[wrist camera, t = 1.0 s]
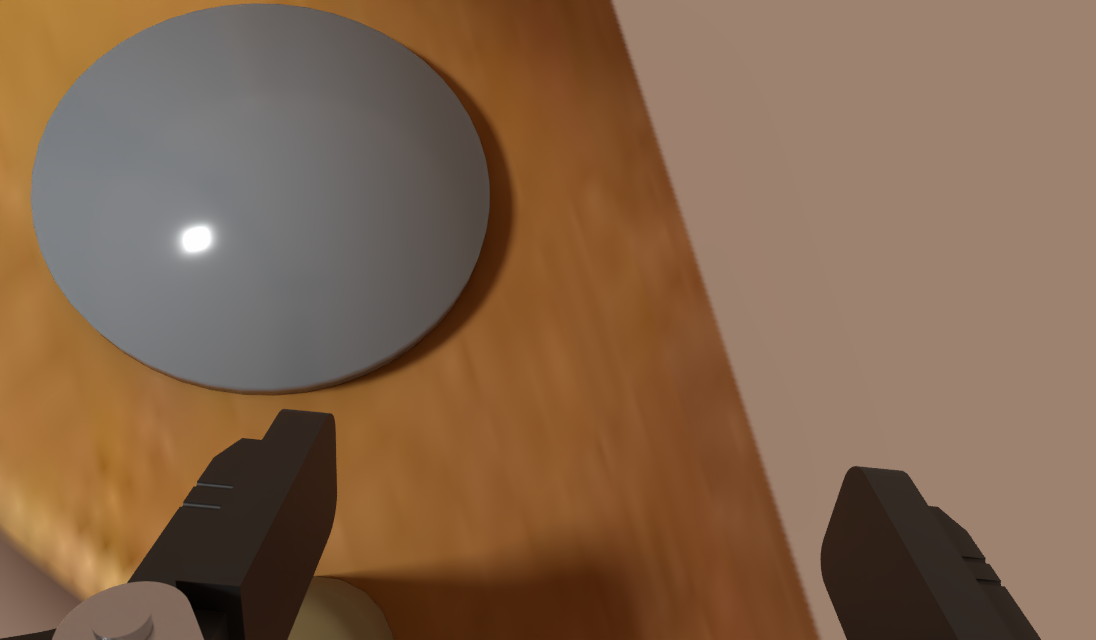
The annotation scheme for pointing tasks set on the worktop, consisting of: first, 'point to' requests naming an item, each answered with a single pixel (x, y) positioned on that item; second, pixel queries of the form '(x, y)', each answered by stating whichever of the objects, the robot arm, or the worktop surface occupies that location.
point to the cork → (338, 614)
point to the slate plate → (261, 198)
